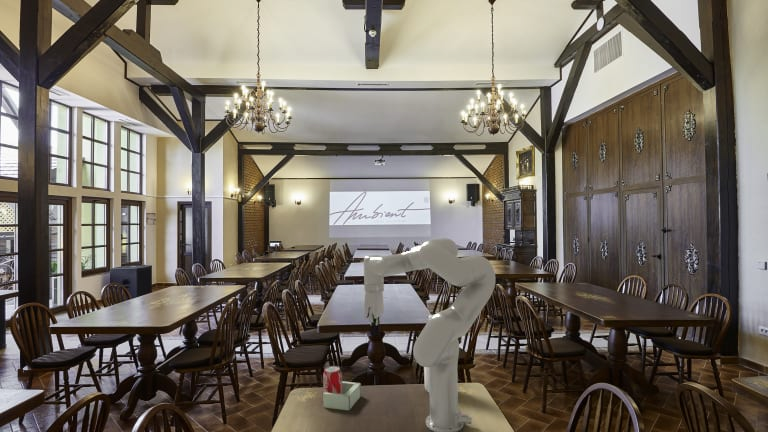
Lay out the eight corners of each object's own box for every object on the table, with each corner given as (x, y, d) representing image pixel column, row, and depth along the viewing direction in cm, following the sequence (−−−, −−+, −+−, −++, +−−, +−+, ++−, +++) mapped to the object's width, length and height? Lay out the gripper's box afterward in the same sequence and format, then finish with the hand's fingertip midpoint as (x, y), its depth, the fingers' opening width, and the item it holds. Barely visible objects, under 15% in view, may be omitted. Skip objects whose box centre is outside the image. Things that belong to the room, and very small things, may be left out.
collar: (361, 396, 158) (360, 383, 158) (348, 410, 147) (348, 396, 147) (337, 393, 162) (336, 380, 162) (323, 407, 150) (323, 393, 150)
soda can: (339, 405, 151) (338, 372, 151) (321, 404, 153) (320, 371, 153) (344, 396, 158) (343, 365, 158) (327, 395, 160) (326, 364, 160)
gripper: (371, 283, 167) (372, 328, 167) (357, 290, 152) (359, 339, 152) (389, 284, 164) (390, 329, 164) (377, 291, 150) (378, 341, 150)
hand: (375, 334), depth 158 cm, fingers closed
